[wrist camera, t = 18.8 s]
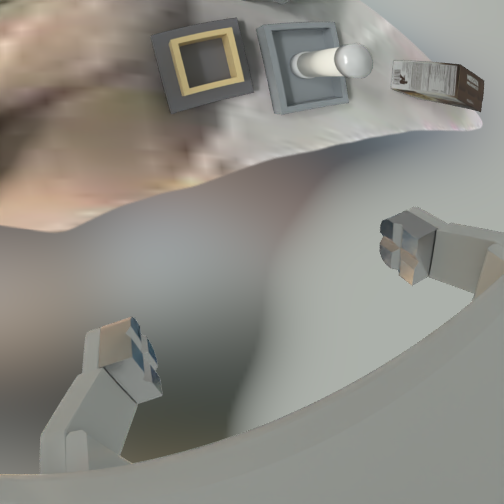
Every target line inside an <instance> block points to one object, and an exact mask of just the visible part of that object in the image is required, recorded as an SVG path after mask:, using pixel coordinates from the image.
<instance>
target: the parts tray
mask: <svg viewBox="0 0 504 504" xmlns="http://www.w3.org/2000/svg"><path fill="white" fill-rule="evenodd" d="M256 32H257V36H258V40H259V45H260V49H261V53H262V58H263V62H264V67H265V71H266V76H267V81H268V86H269V90H270V95H271V100H272V105H273V110H274V113H275V114H281V115H283V114H288V113H293V112H298V111H303V110H308V109H314V108H319V107H325V106H331V105H338V104H344V103H349V101H348V94H347V87H346V80H345V76H329V77H314V78H308V79H301V78H298V77H296V76H295V75H294V74H293V73H292V72H291V70H290V65H289V64H290V59H291V58H292V56H293V55H295V54H297V53H301V52H306V51H308V52H312V51H318V50H324V49H330V48H337V47H340V46H339V41H338V36H337V31H336V26H335V22H296V23H280V24H268V25H262V26H260V27H259V28H257V29H256Z"/></svg>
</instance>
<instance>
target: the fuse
mask: <svg viewBox="0 0 504 504" xmlns="http://www.w3.org/2000/svg"><path fill="white" fill-rule="evenodd" d="M289 65H290V70H291V72H292V73H293V74H294V75H295V76H296V77H298V78H301V79H308V78H314V77H329V76H345V77H348V78H364V77H367V76H368V75H369V74H370V73H371V71H372V68H373V59H372V56H371V54H370V52H369V51H368V49H367V48H366V47H364V46H363V45H361V44H348V45H342V46H340V47H337V48H330V49H324V50H318V51H312V52H308V51H306V52H301V53H297V54H295V55H293V56H292V58H291V59H290V64H289Z"/></svg>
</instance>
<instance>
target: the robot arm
mask: <svg viewBox="0 0 504 504" xmlns="http://www.w3.org/2000/svg"><path fill="white" fill-rule="evenodd" d="M380 233H381V234H382V235H383V238H382V240H381V242H380V254H381V257H382V259H383V261H384V262H385V264H386V265H387V266H389V267H390V268H392V269H396V270H398V272H399V276H401V277H402V278H403V279H404V280H406V281H407V282H408V283H409V284H411V285H414V284H416V283H418V282H419V281H421V280H423V279H425V278H427V277H428V276H429V278H432V279H435V280H438V281H441V282H444V283H446V284H449V285H452V286H455V287H458V288H460V289H463V290H466V291H468V292H471V293H474V297H473V299H472V302H471V303H470V304H469V305H467V306H466V307H465V308H464V309H463V310H461V311H460V312H459V313H457V314H456V315H455V316H454V317H452V318H451V319H450V320H449V321H447V322H446V323H444V324H443V325H442V326H440V327H439V328H438V329H436V330H435V331H433V332H432V333H431V334H429V335H428V336H426V337H425V338H424V339H422V340H421V341H419V342H418V343H417V344H415V345H414V346H412V347H410V348H409V349H407V350H406V351H404V352H403V353H401V354H400V355H398V356H397V357H395V358H394V359H392V360H391V361H389V362H387V363H386V364H384V365H382V366H381V367H379V368H377V369H376V370H374V371H372V372H370V373H369V374H367V375H365V376H364V377H362V378H360V379H358V380H356V381H355V382H353V383H351V384H349V385H347V386H346V387H344V388H342V389H340V390H338V391H336V392H334V393H332V394H330V395H328V396H326V397H324V398H322V399H320V400H318V401H317V402H314V403H312V404H310V405H308V406H306V407H303V408H301V409H299V410H297V411H295V412H293V413H290V414H288V415H286V416H283V417H281V418H279V419H277V420H274V421H272V422H269V423H267V424H264V425H262V426H259V427H256V428H254V429H251V430H248V431H246V432H243V433H240V434H238V435H235V436H232V437H229V438H226V439H223V440H220V441H217V442H214V443H211V444H208V445H204V446H201V447H198V448H194V449H191V450H187V451H184V452H180V453H176V454H172V455H168V456H164V457H160V458H156V459H152V460H148V461H143V462H138V463H131V462H129V461H127V460H126V459H124V458H123V457H121V456H120V453H121V451H122V448H123V445H124V442H125V439H126V437H127V434H128V431H129V428H130V425H131V423H132V420H133V417H134V414H135V411H136V409H137V406H138V405H137V404H139V403H142V402H145V401H148V400H151V399H154V398H157V397H160V396H163V393H162V388H161V381H160V377H159V376H158V374H157V373H156V372H155V370H156V369H157V367H158V364H157V358H156V355H155V352H154V349H153V347H152V345H151V343H150V341H149V340H148V338H147V336H144V335H142V334H141V331H140V325H139V324H138V322H137V321H136V319H135V318H133V317H129V318H127V319H124V320H120V321H117V322H114V323H111V324H108V325H105V326H102V327H99V328H97V329H94V330H91V331H88V332H87V334H86V338H85V348H84V357H83V369H82V374H79V375H78V376H77V377H76V379H75V381H74V382H73V383H72V385H71V386H70V388H69V390H68V391H67V393H66V394H65V396H64V398H63V399H62V401H61V403H60V404H59V406H58V407H57V409H56V410H55V412H54V414H53V416H52V417H51V419H50V420H49V422H48V424H47V425H46V427H45V429H44V431H43V432H42V434H41V440H40V474H29V475H28V474H26V475H25V474H24V475H20V474H19V475H18V474H16V475H15V474H0V504H504V233H503V232H498V231H493V230H488V229H483V228H477V227H472V226H466V225H461V224H454V223H449V224H447V223H445V222H444V221H442V220H440V219H439V218H437V217H435V216H433V215H431V214H430V213H428V212H426V211H424V210H422V209H421V208H419V207H412V208H410V209H407V210H405V211H403V212H402V213H399V214H397V215H395V216H392V217H390V218H387V219H385V220H383V221H382V223H381V225H380Z"/></svg>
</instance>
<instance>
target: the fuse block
mask: <svg viewBox="0 0 504 504" xmlns="http://www.w3.org/2000/svg"><path fill="white" fill-rule="evenodd" d="M151 41H152V45H153V49H154V53H155V57H156V61H157V64H158V68H159V72H160V76H161V80H162V84H163V87H164V91H165V95H166V99H167V102H168V106H169V109H170V113H171V114H173V113H177V112H180V111H183V110H186V109H190V108H193V107H197V106H200V105H204V104H208V103H211V102H215V101H219V100H223V99H227V98H231V97H236V96H240V95H245V94H249V93H254V90H253V85H252V81H251V76H250V72H249V68H248V63H247V59H246V54H245V50H244V46H243V42H242V37H241V33H240V29H239V25H238V21H237V18H230V19H224V20H217V21H212V22H206V23H201V24H196V25H191V26H187V27H182V28H178V29H174V30H170V31H166V32H162V33H158V34H155V35H151Z"/></svg>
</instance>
